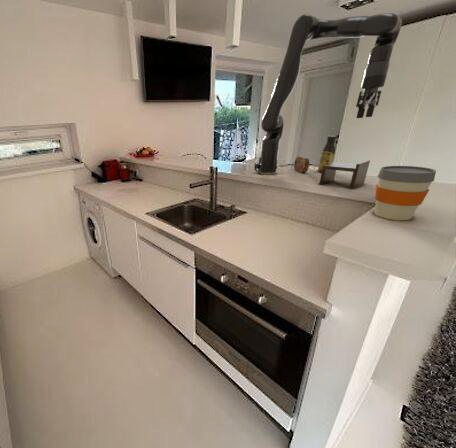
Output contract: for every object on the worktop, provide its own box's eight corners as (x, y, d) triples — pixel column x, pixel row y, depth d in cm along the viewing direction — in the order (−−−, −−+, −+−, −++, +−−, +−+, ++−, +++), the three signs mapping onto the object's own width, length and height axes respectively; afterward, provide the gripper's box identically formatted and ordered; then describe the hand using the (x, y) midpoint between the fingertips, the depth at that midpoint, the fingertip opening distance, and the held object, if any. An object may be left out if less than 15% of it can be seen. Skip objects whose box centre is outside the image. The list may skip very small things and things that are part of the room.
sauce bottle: (315, 171, 145) (321, 136, 137) (321, 170, 147) (328, 135, 140) (326, 173, 139) (333, 136, 132) (333, 171, 142) (340, 135, 134)
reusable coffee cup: (357, 210, 86) (369, 167, 80) (392, 207, 86) (405, 164, 81) (392, 224, 74) (408, 174, 68) (431, 220, 75) (451, 171, 69)
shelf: (319, 184, 120) (323, 161, 116) (330, 179, 126) (335, 158, 122) (353, 189, 109) (359, 164, 105) (363, 184, 115) (370, 160, 111)
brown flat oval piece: (293, 169, 156) (295, 155, 153) (298, 168, 156) (300, 155, 152) (302, 173, 142) (305, 159, 139) (308, 173, 142) (311, 158, 139)
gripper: (371, 77, 108) (361, 117, 114) (356, 76, 101) (346, 118, 108) (393, 74, 102) (381, 116, 108) (378, 72, 95) (366, 118, 102)
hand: (364, 117), depth 108 cm, fingers open, 8 cm apart
